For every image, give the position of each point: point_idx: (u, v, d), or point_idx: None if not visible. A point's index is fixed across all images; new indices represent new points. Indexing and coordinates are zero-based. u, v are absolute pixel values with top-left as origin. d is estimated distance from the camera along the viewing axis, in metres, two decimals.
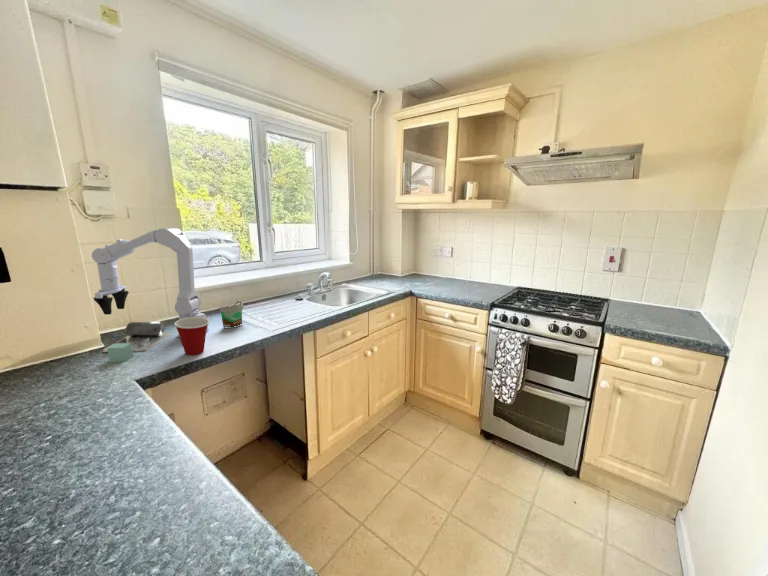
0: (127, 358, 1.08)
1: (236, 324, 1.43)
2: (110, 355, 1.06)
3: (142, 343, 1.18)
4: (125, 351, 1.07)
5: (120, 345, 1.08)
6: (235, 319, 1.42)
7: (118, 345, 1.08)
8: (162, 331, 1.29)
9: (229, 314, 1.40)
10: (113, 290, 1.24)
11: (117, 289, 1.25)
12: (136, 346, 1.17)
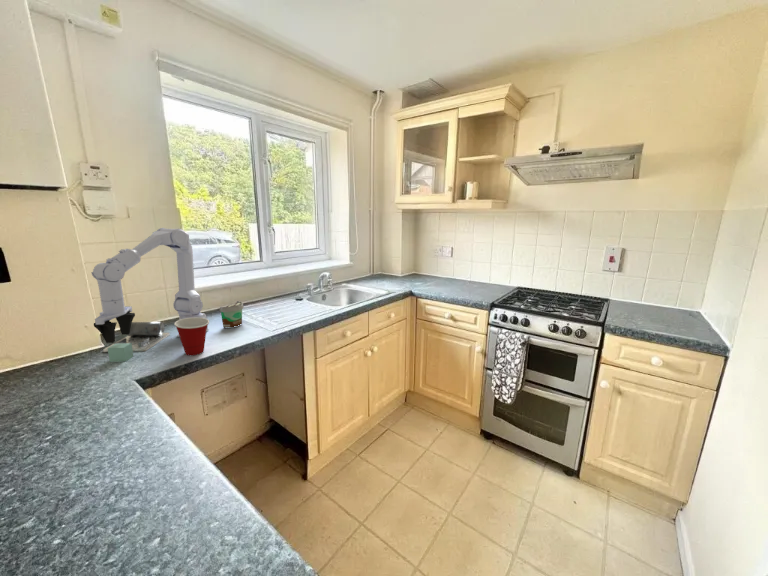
0: (127, 358, 1.08)
1: (236, 324, 1.43)
2: (110, 354, 1.06)
3: (142, 343, 1.18)
4: (125, 351, 1.07)
5: (120, 345, 1.08)
6: (235, 319, 1.42)
7: (118, 345, 1.08)
8: (162, 331, 1.29)
9: (229, 314, 1.40)
10: (117, 313, 1.03)
11: (122, 312, 1.05)
12: (136, 346, 1.17)
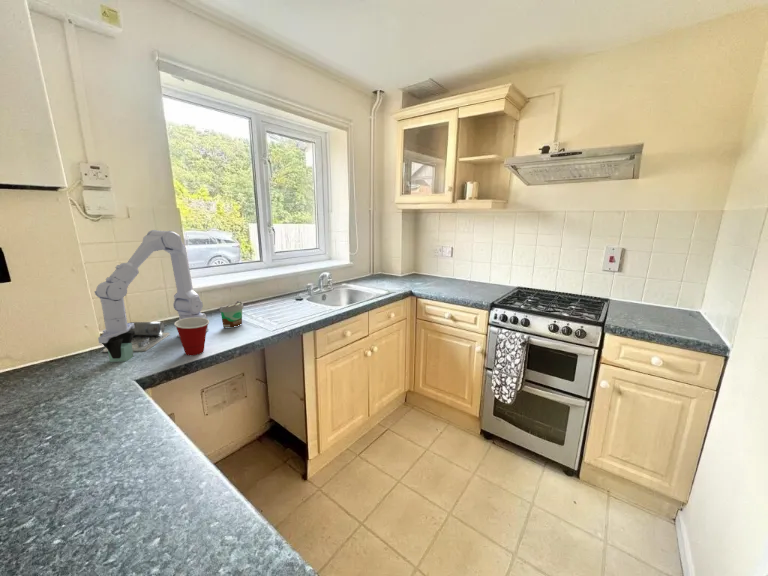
0: (127, 358, 1.08)
1: (236, 324, 1.43)
2: (110, 354, 1.06)
3: (142, 343, 1.18)
4: (125, 351, 1.07)
5: None
6: (235, 319, 1.42)
7: None
8: (162, 331, 1.29)
9: (229, 314, 1.40)
10: (120, 331, 1.05)
11: (124, 330, 1.06)
12: (136, 346, 1.17)
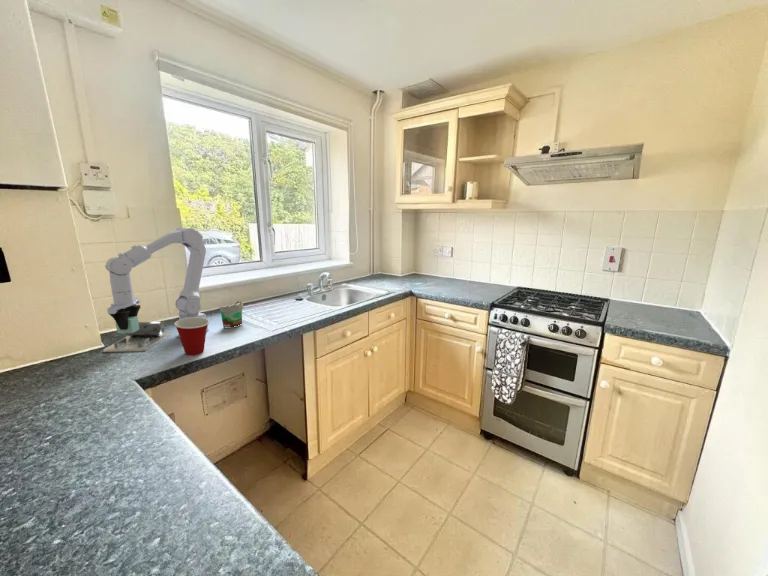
0: (133, 330, 1.15)
1: (236, 324, 1.43)
2: (118, 326, 1.13)
3: (142, 343, 1.18)
4: (132, 323, 1.14)
5: None
6: (235, 319, 1.42)
7: None
8: (162, 331, 1.29)
9: (229, 314, 1.40)
10: (127, 304, 1.12)
11: (131, 303, 1.13)
12: (136, 346, 1.17)
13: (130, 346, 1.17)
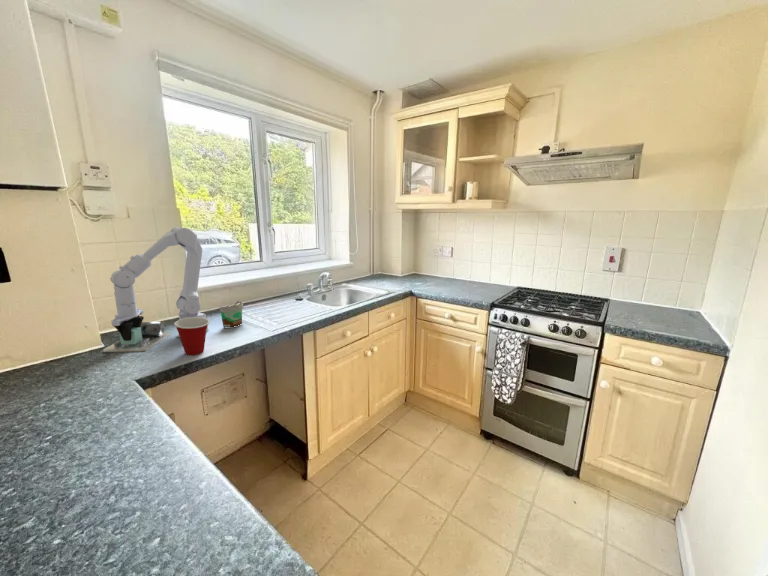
0: (137, 341, 1.18)
1: (236, 324, 1.43)
2: None
3: (142, 343, 1.18)
4: (135, 334, 1.17)
5: None
6: (235, 319, 1.42)
7: None
8: (162, 331, 1.29)
9: (229, 314, 1.40)
10: (130, 316, 1.15)
11: (135, 314, 1.16)
12: (136, 346, 1.17)
13: (130, 346, 1.17)
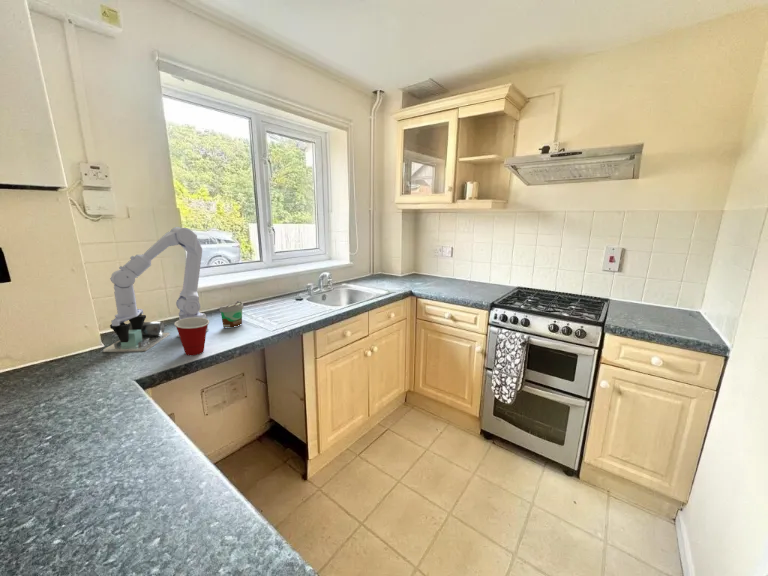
0: (137, 343, 1.18)
1: (236, 324, 1.43)
2: None
3: (142, 343, 1.18)
4: (135, 336, 1.17)
5: (131, 331, 1.18)
6: (235, 319, 1.42)
7: (129, 331, 1.18)
8: (162, 331, 1.29)
9: (229, 314, 1.40)
10: (130, 316, 1.15)
11: (135, 314, 1.16)
12: (136, 346, 1.17)
13: (130, 346, 1.17)
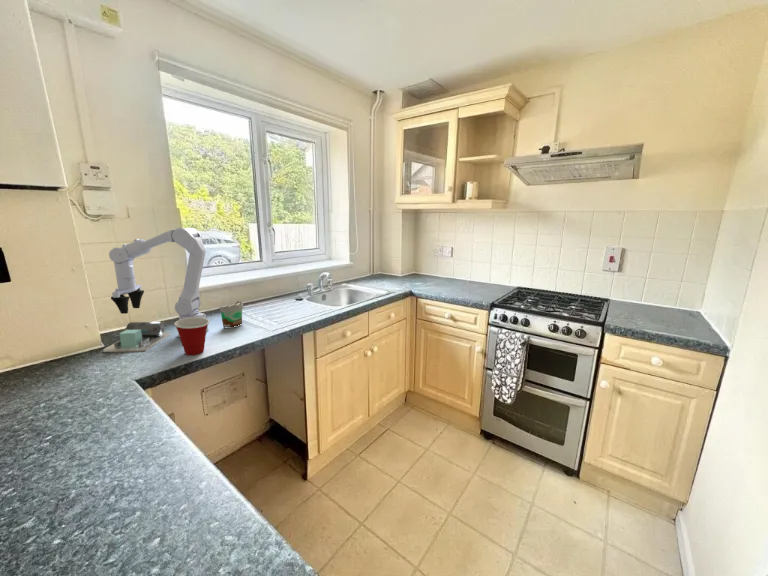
0: (137, 343, 1.18)
1: (236, 324, 1.43)
2: (122, 339, 1.16)
3: (142, 343, 1.18)
4: (135, 336, 1.17)
5: (131, 331, 1.18)
6: (235, 319, 1.42)
7: (129, 331, 1.18)
8: (162, 331, 1.29)
9: (229, 314, 1.40)
10: (130, 289, 1.25)
11: (133, 288, 1.26)
12: (136, 346, 1.17)
13: (130, 346, 1.17)
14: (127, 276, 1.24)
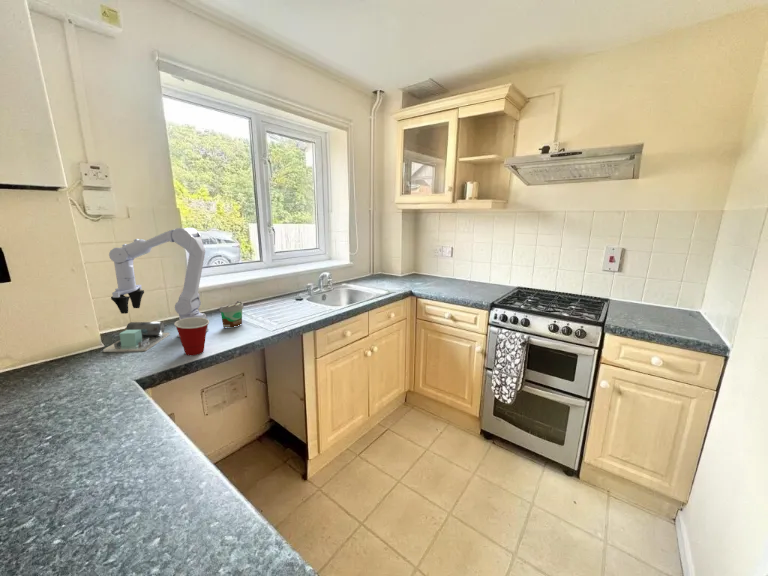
0: (137, 343, 1.18)
1: (236, 324, 1.43)
2: (122, 339, 1.16)
3: (142, 343, 1.18)
4: (135, 336, 1.17)
5: (131, 331, 1.18)
6: (235, 319, 1.42)
7: (129, 331, 1.18)
8: (162, 331, 1.29)
9: (229, 314, 1.40)
10: (130, 289, 1.25)
11: (133, 288, 1.26)
12: (136, 346, 1.17)
13: (130, 346, 1.17)
14: (127, 276, 1.24)
